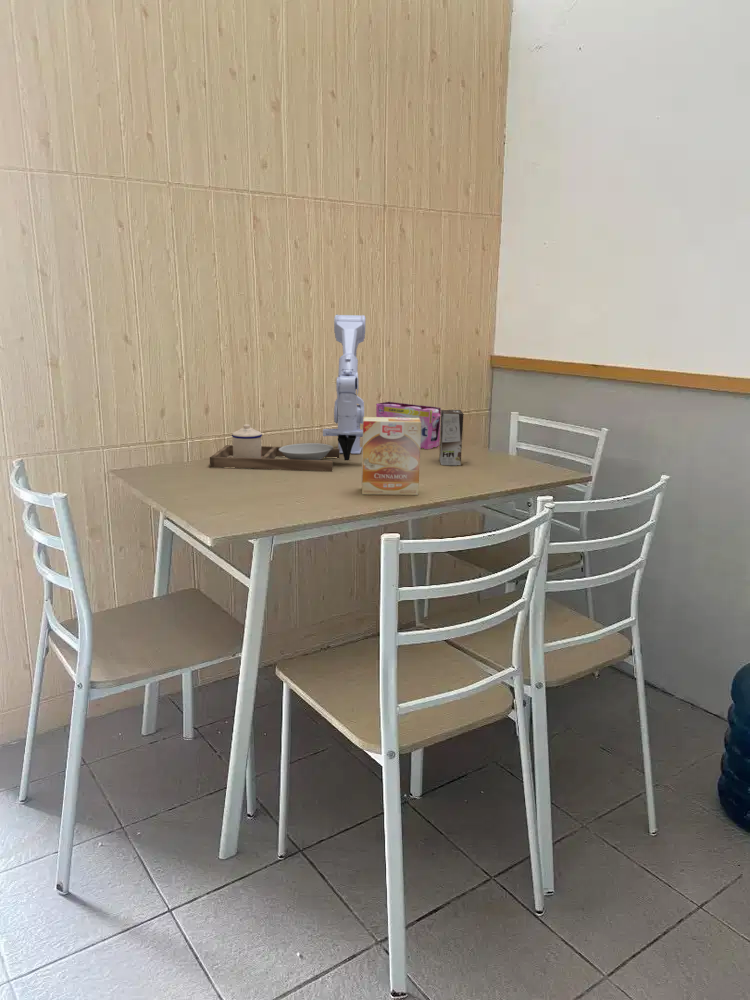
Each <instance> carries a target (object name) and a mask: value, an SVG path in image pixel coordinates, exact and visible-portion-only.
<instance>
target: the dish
mask: <svg viewBox="0 0 750 1000" xmlns="http://www.w3.org/2000/svg"><path fill="white" fill-rule="evenodd" d="M279 447H280V448H279V451H280V452H282V453H283V454H284V455H285V456H286V457H285V458H287V459H297V460H323V459H325V458H324V457H325V456H326V455H327V454H328V453H329V452H330V450H332V449H333V448H334V445H330V444H326V443H317V442H315V443H314V442H311V443H310V442H306V443H292V444H287V445H283V446H279Z"/></svg>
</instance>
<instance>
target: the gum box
mask: <svg viewBox="0 0 750 1000" xmlns="http://www.w3.org/2000/svg"><path fill="white" fill-rule="evenodd" d="M375 405H376V409H375V410H376V412H375V413H376V415H375V417H395V418H419V419H420V421H421V443H420V449H422V448H424V450H429V449H433V447H435V448H437V446H439V447H440V425H441V410H442V408H441V407H436V406H428V405H422V404H421V405H417V404H411V403H403V402H395V401H385V402H379V403H378V402H377V403H376V404H375Z"/></svg>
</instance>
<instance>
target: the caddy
mask: <svg viewBox="0 0 750 1000" xmlns="http://www.w3.org/2000/svg"><path fill="white" fill-rule="evenodd" d="M280 447H281V446H270V445H269V446H265V445H262V458H234V457H233V444H228V445H227V444H226V445H224V446H223V447H222V448H221V449H219V450H218V451H217V452H215V453H214V454H212V455H211V456H210V457H209V468H210V467H235V468H234V469H241V468H254V469H253V470H272V469H281V470H280V471H302V470H315V471H314V472H333V471H332V470H333V469H334V467H333V463H334V461H333V460H329V459H328V460H324V459H320V460H297V459H288V458H287V459H286V458H277V457H276V456H285V455H284V454H283V453H282V452H280V451H279V448H280ZM340 454H341V453H340V449H338V447H337V448H335V447H333V449H332V450H330V452H329V453H328V454H327V455H326V456H325V457H337V458H339V459H340ZM231 456H232V457H231ZM275 457H276V458H275Z"/></svg>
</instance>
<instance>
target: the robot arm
mask: <svg viewBox="0 0 750 1000" xmlns="http://www.w3.org/2000/svg"><path fill="white" fill-rule="evenodd" d="M333 326H334V327H333V331H334V333H333V334H334V337H335V341H336V342H339V343H341V345H342V355H341V356H340V357H339V359H338V371H337V373H338V375H337V377H336V381H335V383H336V384H335V385H336V386H335V389H336V399H335V401H334V408H333V420H334V421H333V422H334V424H337V428H324V429H322V436H323V437H337V449H340V454H343V458H344V459H343V460H344V461H350V458H351V457H350V456H351V454H352V455H353V454H354V455H360V454H361V453H362V451H363V446H361V438H363V429H361V425H363V417H365V401H364V399H363V398H361V397H360V396H358V394H359V390H360V389H359V383H360V382H359V381H360V379H359V373H358V371H359V370H358V365H359V364H358V363H359V359H358V358H357V350H358V347H359V344H361V343H363V342H364V341H365V339H366V316H365V315H364V314H360V315H356V314H353V315H352V314H336V315H334V321H333ZM350 453H351V454H350Z"/></svg>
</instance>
